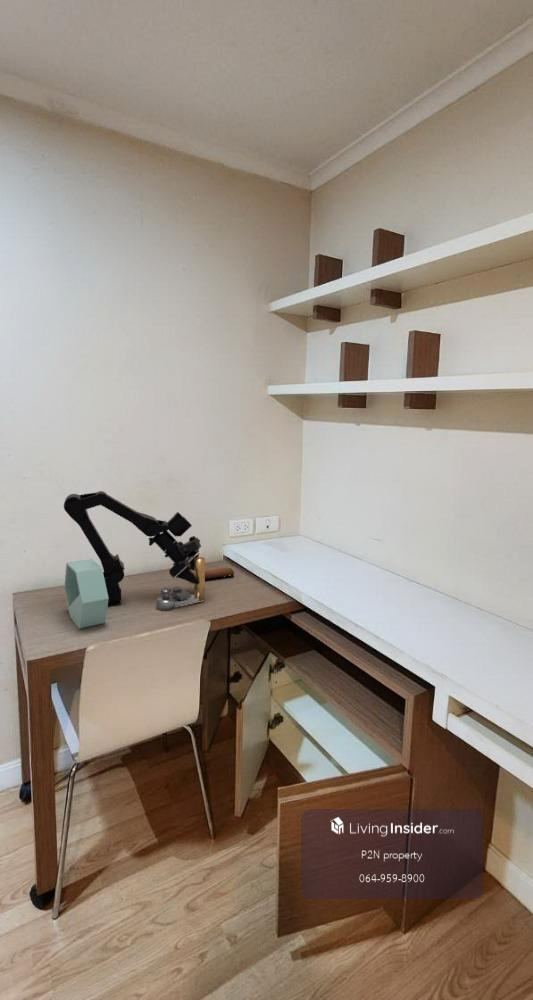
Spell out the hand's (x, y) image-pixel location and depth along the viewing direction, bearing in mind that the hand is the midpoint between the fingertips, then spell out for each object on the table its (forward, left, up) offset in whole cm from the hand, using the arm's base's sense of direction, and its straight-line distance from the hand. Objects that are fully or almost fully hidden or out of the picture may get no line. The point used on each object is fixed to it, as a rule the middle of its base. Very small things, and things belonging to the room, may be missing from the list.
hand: (201, 579), depth 174 cm
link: (-8, -1, -7) cm, 11 cm away
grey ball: (-13, -1, -4) cm, 14 cm away
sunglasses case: (+11, +21, -8) cm, 26 cm away
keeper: (-7, 0, -8) cm, 10 cm away
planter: (-38, -1, -8) cm, 39 cm away
